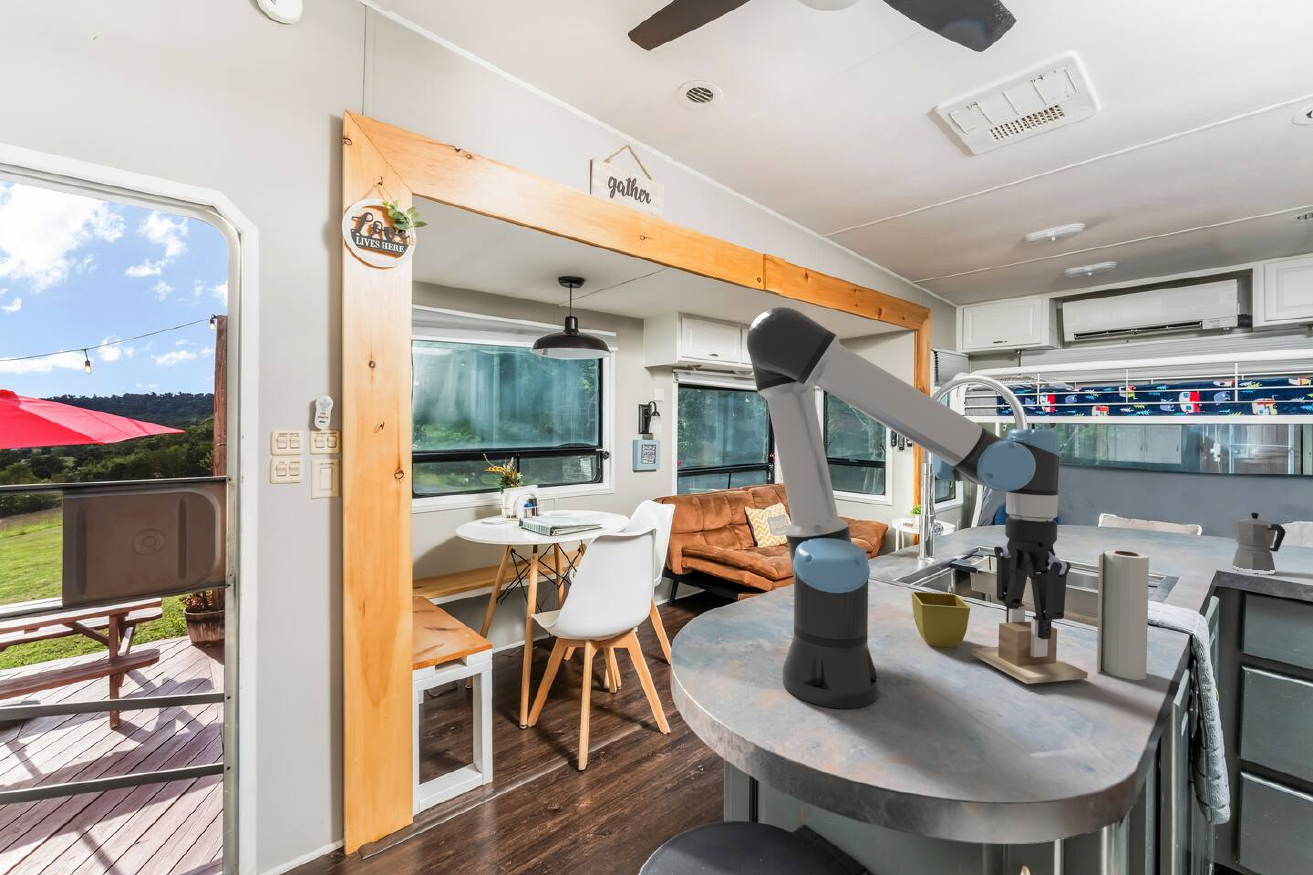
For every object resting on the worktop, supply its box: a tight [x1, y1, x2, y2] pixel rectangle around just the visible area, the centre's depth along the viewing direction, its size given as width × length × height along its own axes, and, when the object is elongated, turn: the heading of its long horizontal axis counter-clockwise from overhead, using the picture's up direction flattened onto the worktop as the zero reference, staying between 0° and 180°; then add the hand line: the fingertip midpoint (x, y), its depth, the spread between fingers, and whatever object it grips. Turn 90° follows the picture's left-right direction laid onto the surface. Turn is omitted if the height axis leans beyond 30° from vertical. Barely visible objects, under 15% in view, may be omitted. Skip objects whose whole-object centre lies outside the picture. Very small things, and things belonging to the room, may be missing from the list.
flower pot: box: [911, 591, 971, 649], centre depth 111 cm, size 9×9×9 cm
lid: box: [970, 620, 1089, 684], centre depth 98 cm, size 12×12×7 cm
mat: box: [968, 657, 1096, 693], centre depth 98 cm, size 13×13×1 cm
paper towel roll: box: [1096, 550, 1150, 681], centre depth 98 cm, size 7×6×21 cm
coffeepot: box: [1231, 512, 1286, 571], centre depth 170 cm, size 15×9×18 cm, turn 175°
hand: (1027, 650), depth 98 cm, fingers closed on lid, 4 cm apart
